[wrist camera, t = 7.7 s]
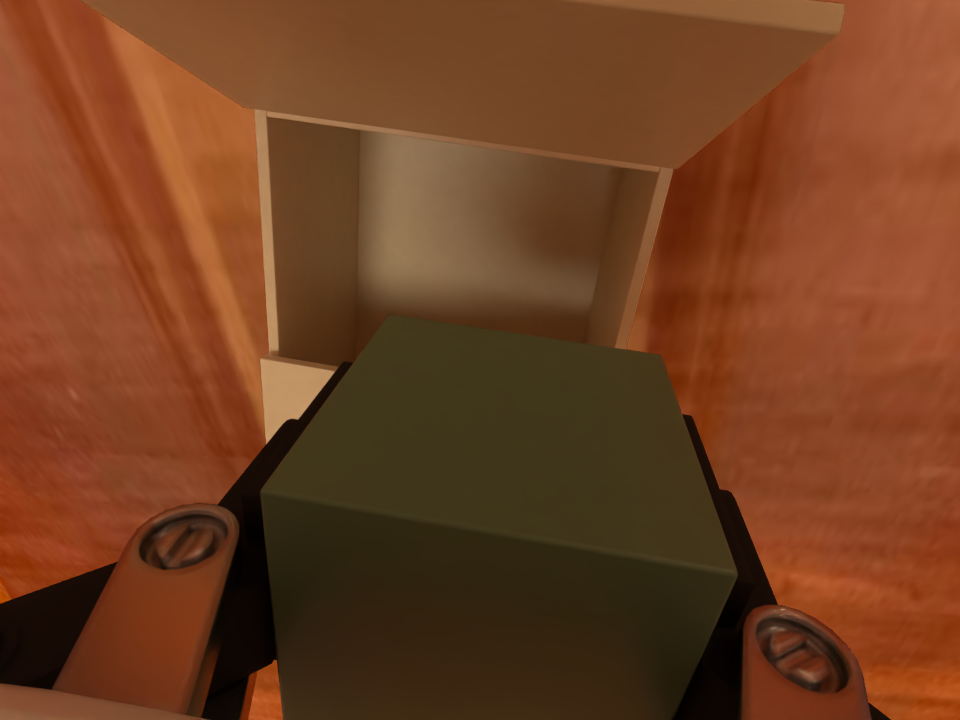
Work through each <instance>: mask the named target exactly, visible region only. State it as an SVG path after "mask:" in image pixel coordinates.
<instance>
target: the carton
mask: <svg viewBox="0 0 960 720" xmlns="http://www.w3.org/2000/svg"><path fill="white" fill-rule="evenodd" d="M254 111H255V128H256V144H257V160H258V176H259V192H260V209H261V225H262V241H263V257H264V273H265V290H266V306H267V322H268V338H269V355H267V354H265V355H264V356H263V357H261V359H260V363H261V377H262V391H263V406H264V420H265V434H266V444H267V443H268V442H269V440H270V439H271V438H272V437H273V435H274V434H275V433H276V432H277V430H278V429H279V428H280V427H281V425H282V424H283V423H284V422H285V421H286V420H288V419H297V420H298V419H299V418H300V417H301V415H302V414H303V413H304V411H305V410H306V409H307V407H308V406H309V405H310V404H311V402H312V401H313V400H314V398H315V397H316V396H317V395H318V393H319V392H320V391H321V389H322V388H323V387H324V385H325V384H326V383H327V382H328V380H329V379H330V378H331V376H332V375H333V374H334V372H335V371H336V370H337V369H338V367H339V366H340V365H341V363H343V362H344V361H346V362H352V363H354V361H355V360H356V359H357V357H358V356H359V355H360V353H361V352H362V351H363V349H364V348H365V346H366V345H367V344H368V342H369V341H370V340H371V338H372V337H373V335H374V334H375V333H376V331H377V330H378V329H379V327H380V326H381V325H382V323H383V322H384V320H385V319H386V318H387V316H388V315H391V314H392V315H398V316H405V317H412V318H418V319H425V320H432V321H438V322H445V323H452V324H458V325H465V326H472V327H478V328H485V329H492V330H498V331H505V332H512V333H518V334H525V335H532V336H539V337H545V338H552V339H559V340H565V341H572V342H579V343H585V344H592V345H599V346H605V347H612V348H619V349H625V350H626V347H627V343H628V339H629V335H630V332H631V328H632V324H633V320H634V317H635V313H636V309H637V305H638V302H639V298H640V294H641V290H642V286H643V283H644V279H645V275H646V271H647V268H648V264H649V260H650V256H651V253H652V249H653V245H654V241H655V238H656V234H657V230H658V226H659V223H660V219H661V215H662V211H663V208H664V204H665V200H666V196H667V192H668V189H669V185H670V181H671V177H672V174H673V170H674V169H672V168H665V167H658V166H651V165H643V164H636V163H629V162H622V161H615V160H608V159H601V158H594V157H587V156H580V155H573V154H566V153H559V152H552V151H545V150H538V149H531V148H524V147H517V146H510V145H502V144H495V143H488V142H481V141H474V140H467V139H460V138H453V137H446V136H439V135H432V134H425V133H418V132H411V131H404V130H397V129H390V128H383V127H376V126H369V125H362V124H354V123H347V122H340V121H333V120H326V119H319V118H312V117H305V116H298V115H291V114H284V113H277V112H270V111H263V110H256V109H254Z"/></svg>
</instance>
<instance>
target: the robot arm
mask: <svg viewBox="0 0 960 720" xmlns="http://www.w3.org/2000/svg"><path fill="white" fill-rule="evenodd" d="M352 364H353V363H352V362H346V361H344V362H343V363H341V365H340V366H339V367H338V369H337V370H336V371H335V372H334V374H333V375H332V376H331V378H330V379H329V380H328V382H327V383H326V384H325V385H324V387H323V388H322V389H321V391H320V392H319V393H318V395H317V396H316V397H315V398H314V400H313V401H312V402H311V404H310V405H309V406H308V407H307V409H306V410H305V411H304V413H303V414H302V415H301V417H300V418H299V419H298V420H297V419H288V420H286V421H285V422H284V423H283V424H282V425H281V427H280V428H279V429H278V430H277V432H276V433H275V434H274V435H273V437H272V438H271V439H270V440H269V442H268V443H267V444H266V445H265V447H264V448H263V449H262V450H261V452H260V453H259V454H258V455H257V457H256V458H255V459H254V460H253V461H252V463H251V464H250V465H249V466H248V468H247V469H246V470H245V471H244V473H243V474H242V475H241V476H240V478H239V479H238V480H237V481H236V483H235V484H234V485H233V486H232V488H231V489H230V490H229V491H228V493H227V494H226V495H225V496H224V498H223V499H222V500H221V501H220V502H219V504H218V505H215V504H206V503H194V504H186V505H181V506H178V507H174V508H171V509H168V510H165V511H163V512H161V513H159V514H158V515H156V516H154V517H152V518H150V519H149V520H148V521H146V522H145V523H144V524H143V525H141V526H140V527H139V528H138V529H137V530H136V531H135V533H134V534H133V535H132V537H131V538H130V540H129V541H128V543H127V545H126V547H125V549H124V551H123V553H122V555H121V557H120V558H119V560H118V562H116V563H113V564H110V565H107V566H104V567H102V568H99V569H96V570H93V571H90V572H88V573H85V574H82V575H79V576H76V577H74V578H71V579H68V580H65V581H63V582H60V583H57V584H54V585H51V586H49V587H46V588H43V589H40V590H37V591H35V592H32V593H29V594H26V595H24V596H21V597H18V598H15V599H12V600H10V601H7V602H4V603H1V604H0V720H248V716H249V711H250V706H251V701H252V696H253V691H254V686H255V681H256V677H257V671H258V670H260V669H262V668H264V667H266V666H268V665H270V664H271V663H272V662H273V660H274V659H275V660H277V654H276V644H275V634H274V624H273V614H272V604H271V594H270V584H269V574H268V564H267V555H266V545H265V535H264V525H263V515H262V505H261V495H260V493H261V489H262V487H263V486H264V485H265V483H266V482H267V481H268V479H269V478H270V476H271V475H272V474H273V472H274V471H275V470H276V468H277V467H278V465H279V464H280V463H281V461H282V460H283V459H284V457H285V456H286V455H287V453H288V452H289V450H290V449H291V448H292V446H293V445H294V444H295V442H296V441H297V439H298V438H299V437H300V435H301V434H302V433H303V431H304V430H305V429H306V427H307V426H308V424H309V423H310V422H311V420H312V419H313V418H314V416H315V415H316V413H317V412H318V411H319V409H320V408H321V407H322V405H323V404H324V403H325V401H326V400H327V398H328V397H329V396H330V394H331V393H332V392H333V390H334V389H335V387H336V386H337V385H338V383H339V382H340V381H341V379H342V378H343V377H344V375H345V374H346V372H347V371H348V370H349V368H350V367H351V366H352ZM682 415H683V418H684V421H685V424H686V427H687V429H688V432H689V435H690V438H691V441H692V444H693V446H694V449H695V452H696V455H697V458H698V461H699V464H700V466H701V469H702V472H703V475H704V478H705V481H706V483H707V486H708V489H709V492H710V495H711V498H712V501H713V503H714V506H715V509H716V512H717V515H718V518H719V520H720V523H721V526H722V529H723V532H724V535H725V538H726V540H727V543H728V546H729V549H730V552H731V555H732V557H733V560H734V563H735V566H736V569H737V573H738V575H737V579H736V581H735V583H734V586H733V588H732V590H731V592H730V594H729V597H728V599H727V601H726V603H725V606H724V608H723V610H722V612H721V615H720V617H719V619H718V621H717V624H716V626H715V628H714V630H713V632H712V635H711V637H710V639H709V641H708V644H707V646H706V648H705V650H704V653H703V655H702V657H701V659H700V661H699V664H698V666H697V668H696V670H695V673H694V675H693V677H692V679H691V682H690V684H689V686H688V688H687V690H686V693H685V695H684V697H683V699H682V702H681V704H680V706H679V708H678V711H677V713H676V715H675V717H674V719H673V720H890V719H889V718H888V717H887V716H885V715H884V714H883V713H882V712H880V711H879V710H878V709H876V708H875V707H874V706H873V705H871V704H870V703H869V702H868V699H867V693H866V688H865V683H864V677H863V674H862V671H861V668H860V666H859V663H858V660H857V659H856V657H855V656H854V654H853V653H852V651H851V650H850V649H849V647H848V646H847V644H846V643H845V642H844V641H843V640H842V639H841V638H840V637H839V636H838V635H837V634H836V633H835V632H834V631H833V630H831V629H830V628H829V627H827V626H826V625H824V624H823V623H822V622H820V621H819V620H817V619H816V618H814V617H812V616H810V615H808V614H806V613H804V612H802V611H800V610H797V609H794V608H790V607H786V606H783V605H778V604H777V601H776V599H775V596H774V594H773V591H772V589H771V587H770V584H769V582H768V579H767V577H766V574H765V572H764V569H763V567H762V564H761V562H760V559H759V557H758V554H757V552H756V549H755V547H754V545H753V542H752V540H751V537H750V535H749V532H748V530H747V527H746V525H745V522H744V520H743V517H742V515H741V512H740V510H739V507H738V505H737V502H736V500H735V498H734V496H733V495H732V493H731V492H729V491H727V490H721V489H719V486H718V484H717V481H716V478H715V476H714V473H713V470H712V468H711V465H710V462H709V460H708V457H707V454H706V452H705V449H704V446H703V444H702V441H701V438H700V436H699V433H698V430H697V428H696V425H695V422H694V420H693V418H692V416H690V415H684V414H682Z"/></svg>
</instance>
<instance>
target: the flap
mask: <svg viewBox="0 0 960 720" xmlns="http://www.w3.org/2000/svg"><path fill="white" fill-rule="evenodd" d="M80 1H82V2H83V3H85V4H86V5H88V6H90V7H91V8H93V9H94V10H96V11H97V12H99V13H100V14H102V15H103V16H105V17H106V18H108V19H109V20H111V21H112V22H114V23H115V24H117V25H118V26H120V27H121V28H123V29H124V30H126V31H128V32H129V33H131V34H132V35H134V36H135V37H137V38H138V39H140V40H141V41H143V42H144V43H146V44H147V45H149V46H150V47H152V48H153V49H155V50H156V51H158V52H159V53H161V54H163V55H164V56H166V57H167V58H169V59H170V60H172V61H173V62H175V63H176V64H178V65H179V66H181V67H182V68H184V69H185V70H187V71H188V72H190V73H191V74H193V75H194V76H196V77H198V78H199V79H201V80H202V81H204V82H205V83H207V84H208V85H210V86H211V87H213V88H214V89H216V90H217V91H219V92H220V93H222V94H223V95H225V96H226V97H228V98H229V99H231V100H232V101H234V102H236V103H237V104H239V105H240V106H242V107H243V108H249V109H256V110H263V111H270V112H277V113H284V114H291V115H298V116H305V117H312V118H319V119H326V120H333V121H340V122H347V123H354V124H362V125H369V126H376V127H383V128H390V129H397V130H404V131H411V132H418V133H425V134H432V135H439V136H446V137H453V138H460V139H467V140H474V141H481V142H488V143H495V144H502V145H510V146H517V147H524V148H531V149H538V150H545V151H552V152H559V153H566V154H573V155H580V156H587V157H594V158H601V159H608V160H615V161H622V162H629V163H636V164H643V165H651V166H658V167H665V168H672V169H678V168H679V167H680V166H682V165H683V164H684V163H685V162H686V161H688V160H689V159H690V158H691V157H692V156H694V155H695V154H696V153H697V152H698V151H700V150H701V149H702V148H703V147H704V146H706V145H707V144H708V143H709V142H710V141H712V140H713V139H714V138H715V137H716V136H718V135H719V134H720V133H721V132H722V131H724V130H725V129H726V128H727V127H728V126H730V125H731V124H732V123H733V122H734V121H735V120H737V119H738V118H739V117H740V116H741V115H743V114H744V113H745V112H746V111H747V110H749V109H750V108H751V107H752V106H753V105H755V104H756V103H757V102H758V101H759V100H761V99H762V98H763V97H764V96H765V95H767V94H768V93H769V92H770V91H771V90H773V89H774V88H775V87H776V86H777V85H779V84H780V83H781V82H782V81H783V80H785V79H786V78H787V77H788V76H789V75H791V74H792V73H793V72H794V71H795V70H797V69H798V68H799V67H800V66H801V65H802V64H804V63H805V62H806V61H807V60H808V59H810V58H811V57H812V56H813V55H814V54H816V53H817V52H818V51H819V50H820V49H822V48H823V47H824V46H825V45H826V44H828V43H829V42H830V41H831V40H832V39H834V38H835V37H836V36H837V35H838V34H839V32H840V29H841V24H842V20H843V15H844V11H845V5H844V4H838V3H830V2H822V1H813V0H80Z"/></svg>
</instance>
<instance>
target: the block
mask: <svg viewBox="0 0 960 720" xmlns="http://www.w3.org/2000/svg"><path fill="white" fill-rule="evenodd" d="M260 495H261V505H262V515H263V525H264V535H265V545H266V555H267V564H268V574H269V584H270V594H271V604H272V614H273V624H274V634H275V644H276V654H277V664H278V673H279V683H280V693H281V703H282V713H283V720H673V719H674V717H675V715H676V713H677V711H678V708H679V706H680V704H681V702H682V699H683V697H684V695H685V693H686V690H687V688H688V686H689V684H690V682H691V679H692V677H693V675H694V673H695V670H696V668H697V666H698V664H699V661H700V659H701V657H702V655H703V653H704V650H705V648H706V646H707V644H708V641H709V639H710V637H711V635H712V632H713V630H714V628H715V626H716V624H717V621H718V619H719V617H720V615H721V612H722V610H723V608H724V606H725V603H726V601H727V599H728V597H729V594H730V592H731V590H732V588H733V586H734V583H735V581H736V579H737V575H738V573H737V569H736V566H735V563H734V560H733V557H732V555H731V552H730V549H729V546H728V543H727V540H726V538H725V535H724V532H723V529H722V526H721V523H720V520H719V518H718V515H717V512H716V509H715V506H714V503H713V501H712V498H711V495H710V492H709V489H708V486H707V483H706V481H705V478H704V475H703V472H702V469H701V466H700V464H699V461H698V458H697V455H696V452H695V449H694V446H693V444H692V441H691V438H690V435H689V432H688V429H687V427H686V424H685V421H684V418H683V415H682V412H681V409H680V407H679V404H678V401H677V398H676V395H675V392H674V390H673V387H672V384H671V381H670V378H669V375H668V372H667V370H666V367H665V364H664V361H663V358H662V356H661V355H659V354H652V353H645V352H639V351H632V350H625V349H619V348H612V347H605V346H599V345H592V344H585V343H579V342H572V341H565V340H559V339H552V338H545V337H539V336H532V335H525V334H518V333H512V332H505V331H498V330H492V329H485V328H478V327H472V326H465V325H458V324H452V323H445V322H438V321H432V320H425V319H418V318H412V317H405V316H398V315H392V314H391V315H388V316H387V318H386V319H385V320H384V322H383V323H382V325H381V326H380V327H379V329H378V330H377V331H376V333H375V334H374V335H373V337H372V338H371V340H370V341H369V342H368V344H367V345H366V346H365V348H364V349H363V351H362V352H361V353H360V355H359V356H358V357H357V359H356V360H355V361H354V363H353V364H352V366H351V367H350V368H349V370H348V371H347V372H346V374H345V375H344V377H343V378H342V379H341V381H340V382H339V383H338V385H337V386H336V387H335V389H334V390H333V392H332V393H331V394H330V396H329V397H328V398H327V400H326V401H325V403H324V404H323V405H322V407H321V408H320V409H319V411H318V412H317V413H316V415H315V416H314V418H313V419H312V420H311V422H310V423H309V424H308V426H307V427H306V429H305V430H304V431H303V433H302V434H301V435H300V437H299V438H298V439H297V441H296V442H295V444H294V445H293V446H292V448H291V449H290V450H289V452H288V453H287V455H286V456H285V457H284V459H283V460H282V461H281V463H280V464H279V465H278V467H277V468H276V470H275V471H274V472H273V474H272V475H271V476H270V478H269V479H268V481H267V482H266V483H265V485H264V486H263V487H262V489H261V493H260Z"/></svg>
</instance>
